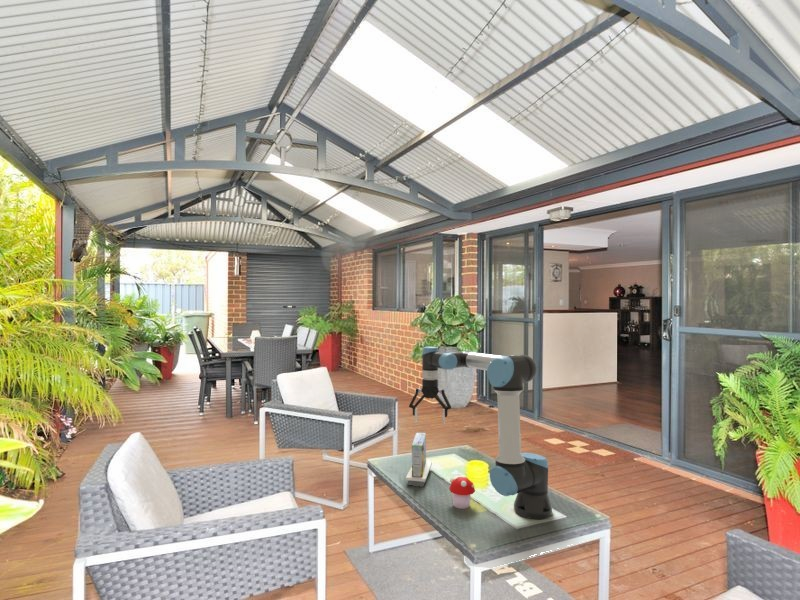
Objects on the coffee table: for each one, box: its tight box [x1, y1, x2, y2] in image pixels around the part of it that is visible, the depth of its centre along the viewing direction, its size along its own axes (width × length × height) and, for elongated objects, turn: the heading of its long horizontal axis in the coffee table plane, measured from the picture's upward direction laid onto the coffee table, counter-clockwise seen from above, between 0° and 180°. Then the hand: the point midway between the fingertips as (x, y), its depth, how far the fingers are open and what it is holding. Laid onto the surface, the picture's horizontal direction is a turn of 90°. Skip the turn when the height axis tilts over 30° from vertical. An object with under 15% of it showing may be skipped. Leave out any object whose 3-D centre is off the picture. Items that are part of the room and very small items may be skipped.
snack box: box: [411, 432, 427, 477], centre depth 235 cm, size 21×6×15 cm, turn 172°
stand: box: [405, 461, 433, 488], centre depth 235 cm, size 24×9×4 cm, turn 169°
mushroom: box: [449, 476, 476, 510], centre depth 204 cm, size 11×11×12 cm
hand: (429, 422), depth 233 cm, fingers open, 13 cm apart
